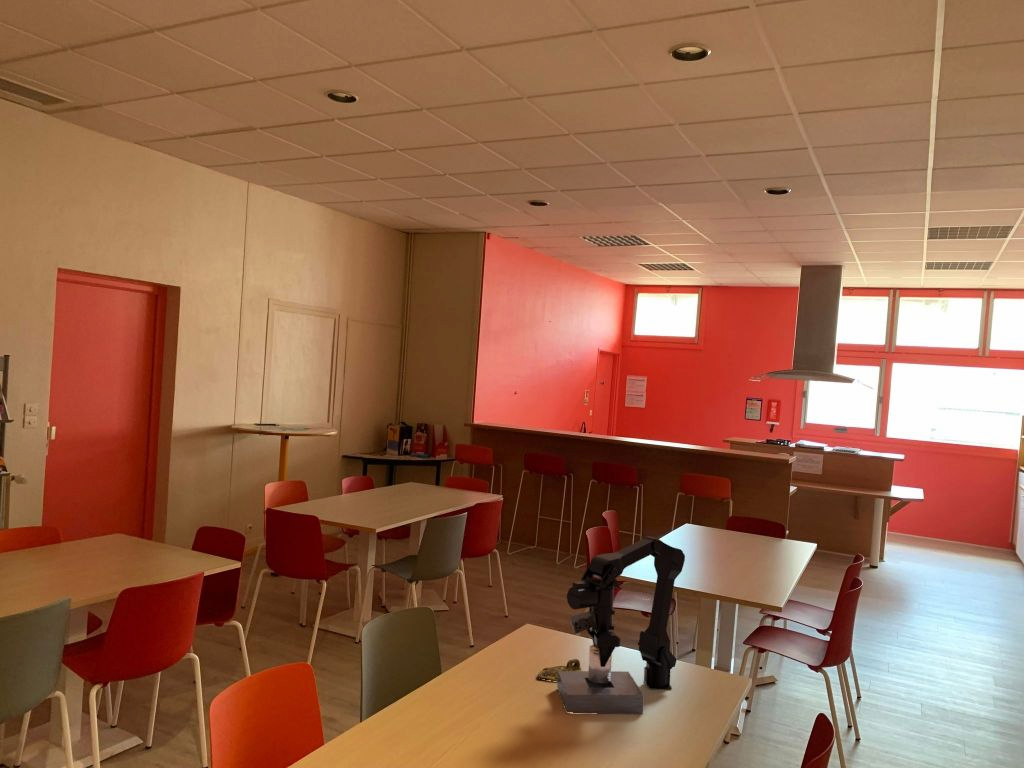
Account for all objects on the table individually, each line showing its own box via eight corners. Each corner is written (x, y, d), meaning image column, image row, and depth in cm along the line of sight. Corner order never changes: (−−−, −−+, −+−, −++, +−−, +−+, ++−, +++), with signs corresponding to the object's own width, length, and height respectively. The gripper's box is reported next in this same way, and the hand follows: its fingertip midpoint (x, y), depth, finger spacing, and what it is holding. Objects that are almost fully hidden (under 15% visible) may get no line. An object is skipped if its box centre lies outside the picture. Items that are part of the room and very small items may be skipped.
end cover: (607, 674, 206) (609, 644, 206) (612, 683, 200) (614, 652, 200) (586, 674, 205) (587, 644, 205) (590, 683, 199) (591, 652, 199)
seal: (547, 690, 212) (589, 680, 220) (549, 674, 211) (591, 665, 219) (529, 675, 219) (570, 666, 228) (530, 659, 219) (571, 651, 227)
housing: (627, 689, 211) (628, 671, 211) (642, 714, 195) (643, 694, 195) (557, 689, 209) (557, 671, 209) (566, 714, 193) (567, 694, 193)
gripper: (567, 594, 211) (564, 649, 211) (579, 614, 192) (576, 675, 192) (606, 594, 212) (603, 650, 212) (622, 615, 193) (619, 675, 193)
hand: (600, 662), depth 202 cm, fingers closed on end cover, 6 cm apart
